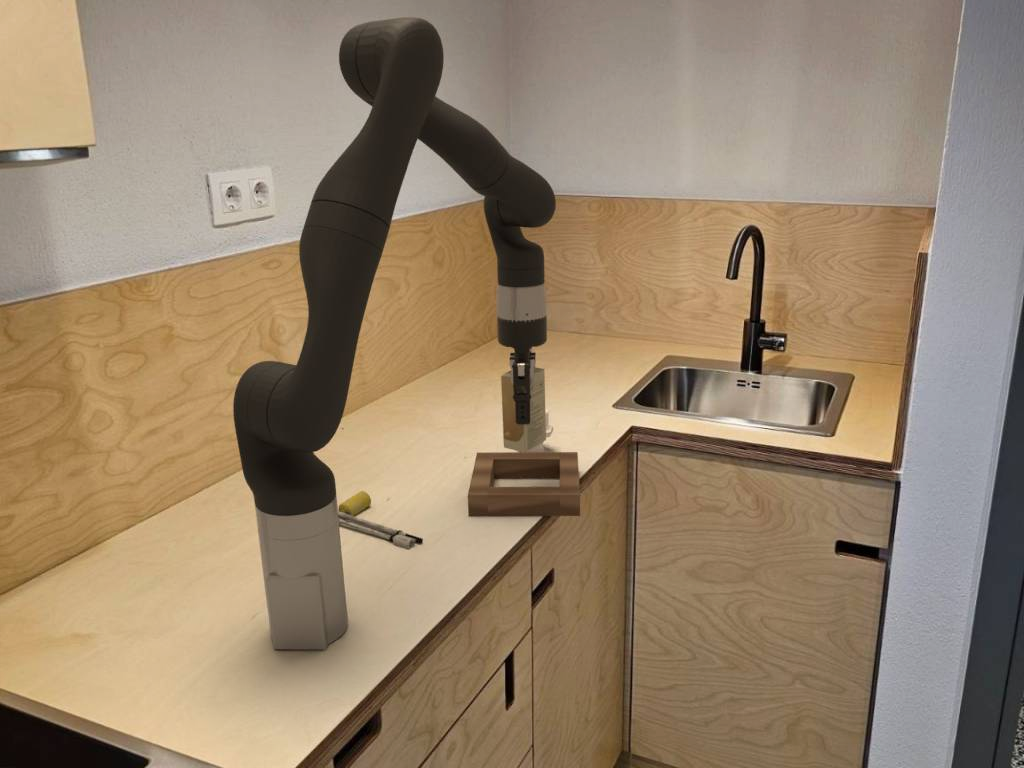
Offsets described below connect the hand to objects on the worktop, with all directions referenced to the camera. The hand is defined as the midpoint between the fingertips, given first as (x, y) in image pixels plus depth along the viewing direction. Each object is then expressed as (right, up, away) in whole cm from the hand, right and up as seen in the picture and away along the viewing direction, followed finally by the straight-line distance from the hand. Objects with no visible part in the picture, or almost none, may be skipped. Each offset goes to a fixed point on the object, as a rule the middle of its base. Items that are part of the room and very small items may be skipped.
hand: (524, 414), depth 140 cm
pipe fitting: (+2, -8, +20) cm, 22 cm away
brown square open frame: (0, -13, +4) cm, 13 cm away
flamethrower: (-27, -16, -3) cm, 31 cm away
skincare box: (0, -5, +2) cm, 5 cm away
